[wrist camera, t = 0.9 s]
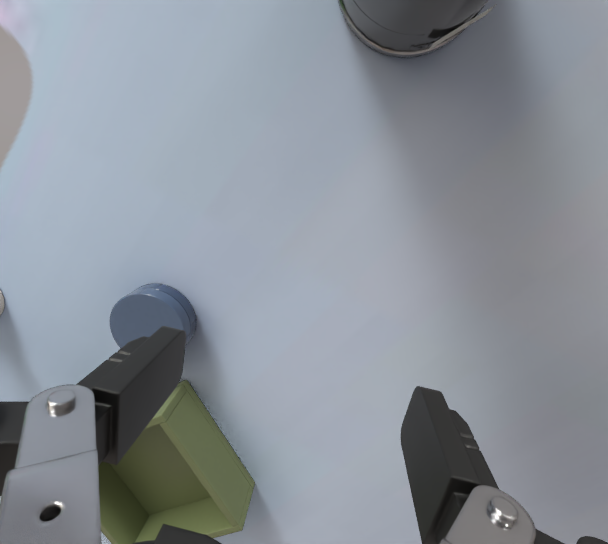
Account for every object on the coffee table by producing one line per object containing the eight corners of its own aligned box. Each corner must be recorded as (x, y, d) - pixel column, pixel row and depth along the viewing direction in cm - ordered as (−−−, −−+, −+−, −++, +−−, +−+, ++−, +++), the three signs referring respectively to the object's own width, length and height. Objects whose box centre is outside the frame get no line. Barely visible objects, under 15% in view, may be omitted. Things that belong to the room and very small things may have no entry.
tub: (80, 421, 35) (41, 460, 31) (186, 378, 32) (161, 415, 27) (152, 513, 38) (126, 561, 34) (255, 482, 35) (242, 530, 31)
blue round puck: (112, 300, 30) (94, 311, 28) (171, 271, 29) (156, 281, 27) (152, 358, 32) (137, 374, 29) (209, 334, 30) (199, 348, 28)
